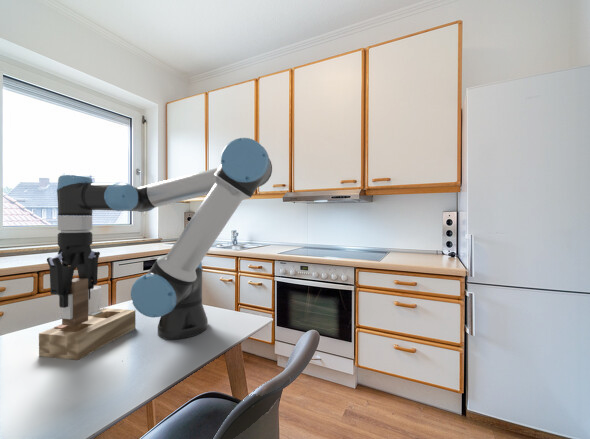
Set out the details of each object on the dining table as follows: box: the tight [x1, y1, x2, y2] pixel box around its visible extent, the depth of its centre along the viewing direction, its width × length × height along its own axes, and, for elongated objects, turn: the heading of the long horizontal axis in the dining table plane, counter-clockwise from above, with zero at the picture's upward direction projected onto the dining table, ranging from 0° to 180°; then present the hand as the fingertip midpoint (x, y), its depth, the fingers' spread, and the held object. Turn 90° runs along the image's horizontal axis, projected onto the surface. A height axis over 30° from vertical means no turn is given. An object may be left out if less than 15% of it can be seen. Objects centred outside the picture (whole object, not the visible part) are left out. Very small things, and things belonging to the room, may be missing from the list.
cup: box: [88, 285, 103, 314], centre depth 94 cm, size 9×9×12 cm
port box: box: [38, 307, 137, 361], centre depth 81 cm, size 12×20×6 cm, turn 171°
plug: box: [61, 277, 88, 326], centre depth 76 cm, size 4×4×12 cm
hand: (75, 315), depth 76 cm, fingers closed on plug, 4 cm apart
